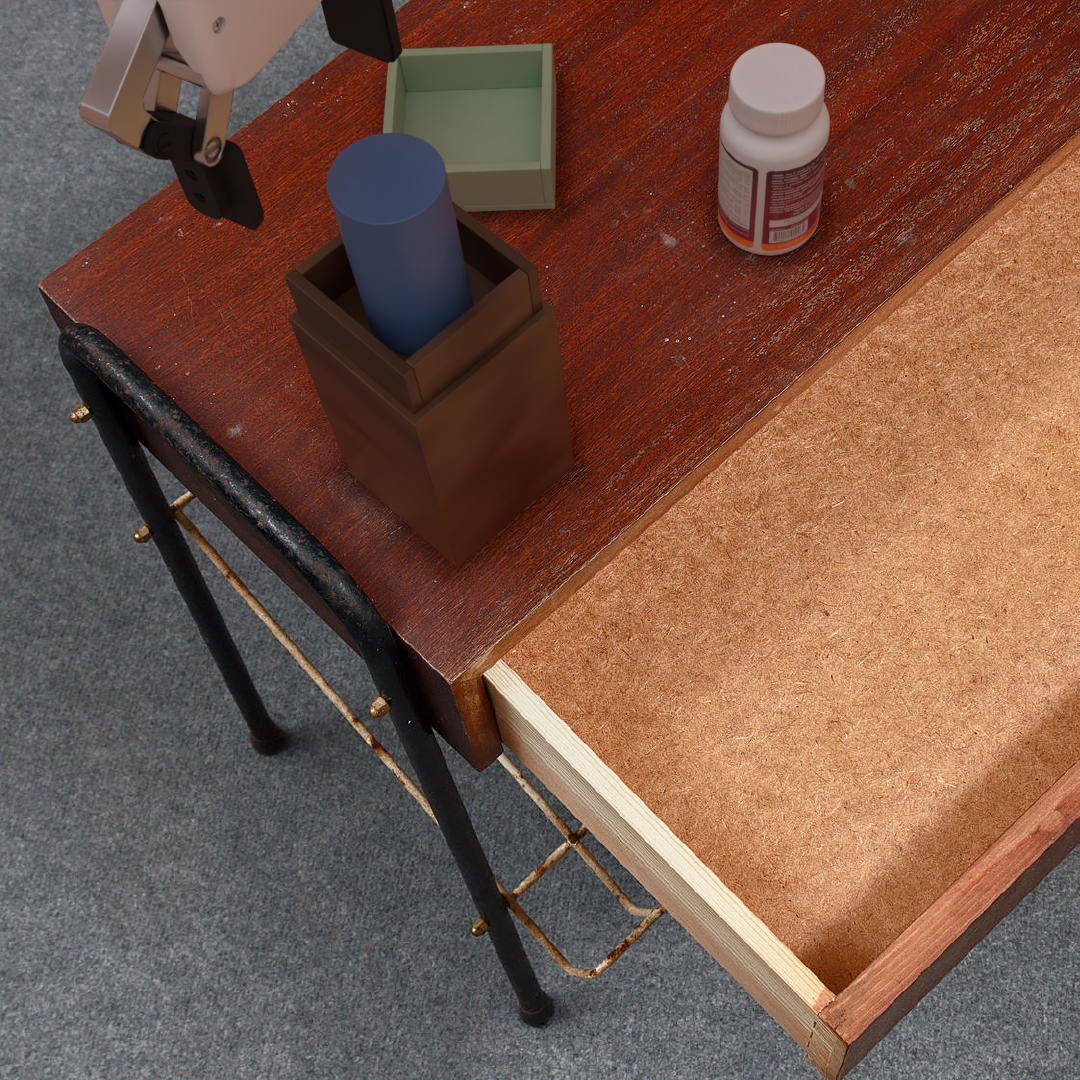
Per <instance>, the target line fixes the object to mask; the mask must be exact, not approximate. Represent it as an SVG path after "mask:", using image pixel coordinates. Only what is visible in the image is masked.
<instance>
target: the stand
mask: <svg viewBox="0 0 1080 1080" xmlns="http://www.w3.org/2000/svg"><path fill="white" fill-rule="evenodd" d="M452 203H453V208H454V213H455V217H456V222H457V227H458V232H459V237H460V242H461V247H462V251H463V256H464V261H465V266H466V271H467V276H468V281H469V286H470V290H471V295H472V300H473V306H472V307H471V308H470V309H468V310H467V311H466V312H465V313H463V314H462V315H461V316H460V317H458V318H457V319H456V320H455V321H454V322H452V323H451V324H450V325H449V326H447V327H446V328H445V329H444V330H443V331H441V332H440V333H439V334H438V335H436V336H435V337H434V338H433V339H432V340H430V341H429V342H428V343H427V344H425V345H424V346H423V347H422V348H420V349H419V350H418V351H417V352H416V353H414V354H413V355H409V354H403V353H399V352H396V351H393V350H391V349H389V348H388V347H387V346H386V345H384V344H383V343H382V342H381V341H380V340H379V339H377V338H376V337H375V336H374V334H373V333H372V331H371V328H370V326H369V323H368V319H367V316H366V313H365V310H364V307H363V303H362V300H361V297H360V294H359V291H358V288H357V284H356V281H355V278H354V275H353V272H352V268H351V265H350V262H349V259H348V256H347V253H346V249H345V246H344V243H343V240H342V237H341V234H340V232H339V233H337V234H336V235H335V236H334V237H332V238H331V239H329V240H328V241H327V242H326V243H324V244H323V245H321V246H320V247H319V248H318V249H317V250H316V251H314V252H312V253H311V254H310V255H309V256H308V257H306V258H305V259H304V260H302V261H301V262H300V263H298V264H297V265H296V266H295V267H294V268H292V269H291V270H289V271H288V272H287V273H285V274H284V279H285V283H286V285H287V287H288V290H289V292H290V294H291V298H292V300H293V303H294V305H295V308H296V310H295V311H293V312H292V313H291V314H289V315H288V317H287V318H288V320H289V323H290V326H291V328H292V331H293V333H294V336H295V339H296V341H297V343H298V346H299V349H300V352H301V354H302V356H303V359H304V362H305V364H306V366H307V369H308V372H309V374H310V377H311V379H312V381H313V385H314V386H315V390H316V393H317V394H318V397H319V399H320V402H321V404H322V407H323V410H324V412H325V415H326V417H327V420H328V423H329V425H330V428H331V430H332V433H333V435H334V438H335V441H336V443H337V445H338V447H339V450H340V453H341V455H342V459H343V460H344V461H343V462H344V463H345V465H346V468H347V471H348V472H349V473H350V475H352V476H353V477H354V478H355V479H356V480H357V481H358V482H360V483H361V485H363V486H364V487H365V489H368V491H369V492H371V493H372V494H373V495H374V496H375V497H377V499H379V500H380V501H381V502H382V503H383V504H384V505H385V506H386V507H387V508H388V509H390V511H392V512H393V513H394V514H395V515H396V516H398V518H400V519H401V520H402V521H403V522H404V523H405V524H406V525H407V526H408V527H410V528H411V530H413V531H414V532H415V533H416V534H417V535H419V536H420V537H421V538H422V539H423V540H424V541H425V542H426V543H428V544H429V545H430V546H431V547H432V548H433V549H434V550H436V552H438V553H439V554H440V555H441V556H442V557H443V558H444V559H445V560H447V562H449V563H450V564H451V565H452V566H453V567H454V568H456V569H459V568H460V567H461V566H462V565H463V564H465V563H466V561H467V560H469V559H470V558H471V557H472V556H474V555H475V554H476V553H477V552H478V551H479V550H480V549H481V548H483V547H484V546H485V545H486V544H487V543H488V542H489V541H490V540H492V539H493V538H494V537H495V536H496V535H497V534H498V533H499V532H501V531H502V530H503V529H504V528H505V527H506V526H507V525H508V524H509V523H511V522H512V521H513V520H514V519H516V517H518V516H519V515H520V514H521V513H523V511H524V510H525V509H526V508H528V507H529V506H530V505H531V504H532V503H534V502H535V501H536V500H537V499H538V498H539V497H540V496H541V495H542V494H543V493H544V492H547V490H548V489H549V488H550V487H551V486H553V485H554V484H555V483H556V482H557V481H558V480H559V479H561V478H562V477H563V476H564V475H565V474H566V473H567V472H569V471H570V470H571V469H572V468H573V467H575V457H574V450H573V449H574V448H573V442H572V441H573V440H572V435H571V434H572V432H571V425H570V418H569V417H570V416H569V410H568V402H567V401H568V400H567V394H566V386H565V378H564V370H563V362H562V361H563V360H562V353H561V346H560V338H559V330H558V321H557V314H556V307H554V306H553V305H552V304H550V303H549V302H548V301H547V300H545V299H544V298H543V297H542V291H541V284H540V283H541V282H540V276H539V268H538V266H537V265H536V264H535V263H533V262H532V261H530V259H528V258H526V257H525V256H524V255H523V254H522V253H520V252H519V251H518V250H516V249H515V248H513V246H511V245H510V244H509V243H507V242H506V241H505V240H503V239H502V238H501V237H500V236H498V235H497V233H494V231H491V230H490V229H489V228H488V227H486V226H485V225H484V224H483V223H482V222H480V221H479V220H478V219H476V218H475V217H474V216H472V215H471V214H470V213H469V212H466V211H465V210H463V209H462V208H461V207H459V206H458V205H457V204H456V203H454V202H453V201H452Z"/></svg>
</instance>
